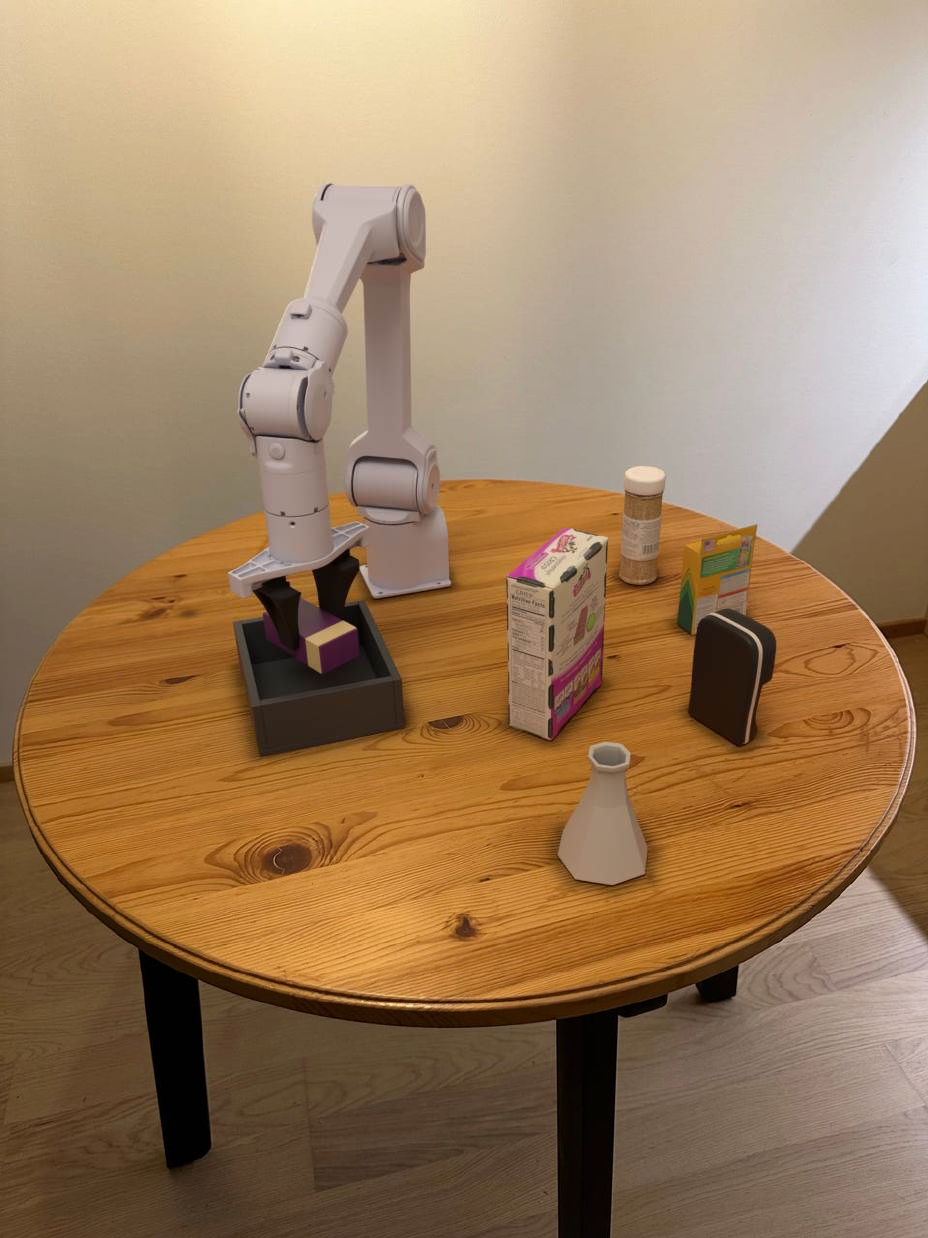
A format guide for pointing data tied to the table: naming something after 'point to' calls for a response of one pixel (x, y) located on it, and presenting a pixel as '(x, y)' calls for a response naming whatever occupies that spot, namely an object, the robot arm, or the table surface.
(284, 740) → the open storage bin
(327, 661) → the chocolate bar
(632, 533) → the spice jar
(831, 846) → the table surface
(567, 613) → the candy bar box
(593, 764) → the flask
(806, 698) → the table surface
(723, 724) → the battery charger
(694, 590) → the crayon box
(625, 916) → the table surface
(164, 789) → the table surface
